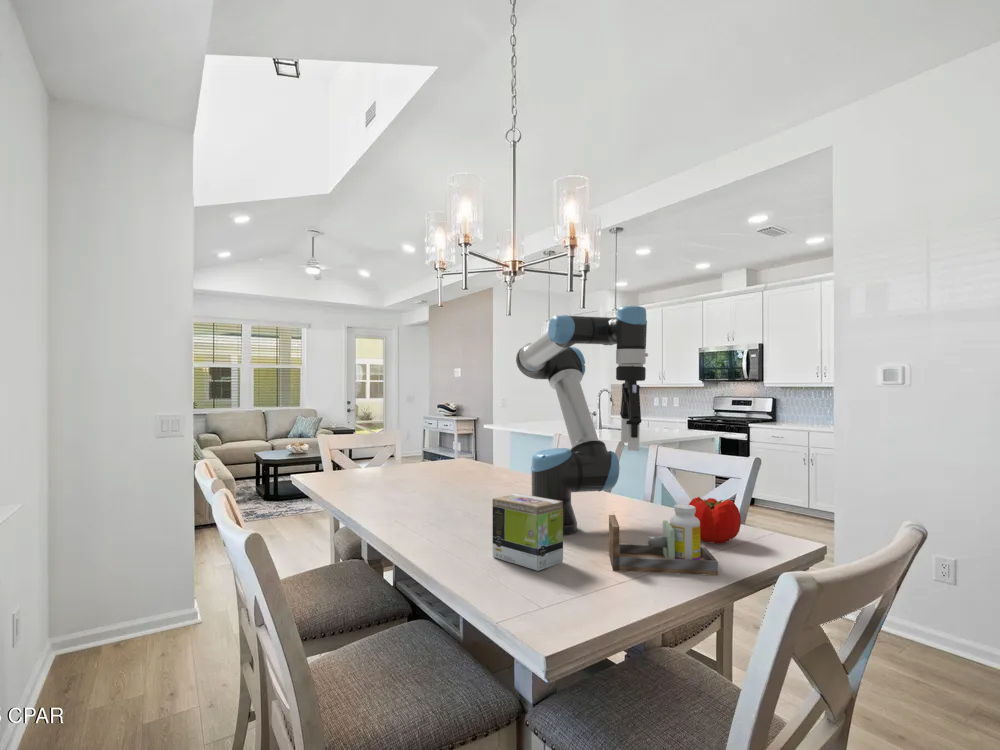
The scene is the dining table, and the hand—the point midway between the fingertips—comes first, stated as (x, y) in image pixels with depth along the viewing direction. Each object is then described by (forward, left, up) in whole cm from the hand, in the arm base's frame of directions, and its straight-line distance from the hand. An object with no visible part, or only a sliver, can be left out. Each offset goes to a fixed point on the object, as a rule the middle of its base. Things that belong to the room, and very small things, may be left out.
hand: (629, 446), depth 136 cm
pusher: (+5, -13, -25) cm, 29 cm away
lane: (+6, -13, -26) cm, 30 cm away
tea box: (-26, -13, -27) cm, 39 cm away
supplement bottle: (+11, -13, -26) cm, 31 cm away
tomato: (+23, +9, -27) cm, 36 cm away
